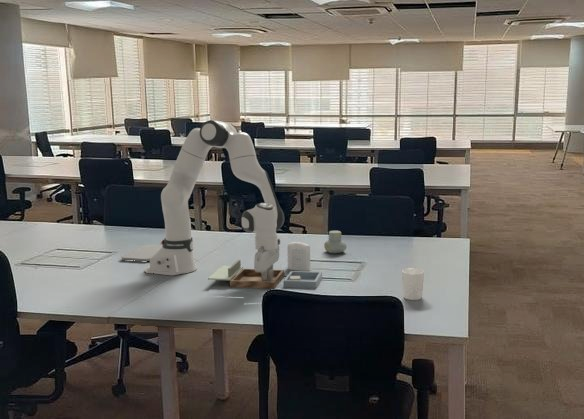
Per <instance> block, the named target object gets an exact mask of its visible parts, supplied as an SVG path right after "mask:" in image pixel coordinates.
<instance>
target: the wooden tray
mask: <svg viewBox="0 0 584 419" xmlns="http://www.w3.org/2000/svg"><path fill="white" fill-rule="evenodd" d="M285 276H286V275H285V269H273V278H274V280H273V282H266V281H261V272H255V270H254V268H242V269H241V270H240V271H239V272H238V273H237V274H236V275H235V276H234V277H233V278H232V279H231V280H229V287H230V288H241V289H243V288H246V289H266V290H267V289H268V290H275V289H276V288H277V286H278V285H279V284H280V283H281V281H283V280H284V279H283V278H285Z"/></svg>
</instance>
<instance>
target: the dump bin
mask: <svg viewBox="0 0 584 419" xmlns="http://www.w3.org/2000/svg"><path fill="white" fill-rule="evenodd" d="M290 276H300V278H301V281H300V280H290ZM322 278H323V271H299V270H290V271H289V273H288V274H287V275H286V277H284V279H283V280H282V282H283V288H299V289H300V288H302V289H303V288H304V289H305V288H306V289H317V287H318V286H319V284H320V282H321V281H322Z"/></svg>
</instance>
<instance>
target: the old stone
mask: <svg viewBox="0 0 584 419" xmlns="http://www.w3.org/2000/svg"><path fill="white" fill-rule="evenodd" d="M290 280H300V281H301V278H300V276H290Z"/></svg>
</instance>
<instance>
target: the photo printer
mask: <svg viewBox="0 0 584 419" xmlns="http://www.w3.org/2000/svg"><path fill="white" fill-rule="evenodd" d="M287 269H288V270H290V271H308V272H310V271H311V247H310V245H309V244H307V243H305V242H302V241H292V242H289V243H288V244H287Z"/></svg>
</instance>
